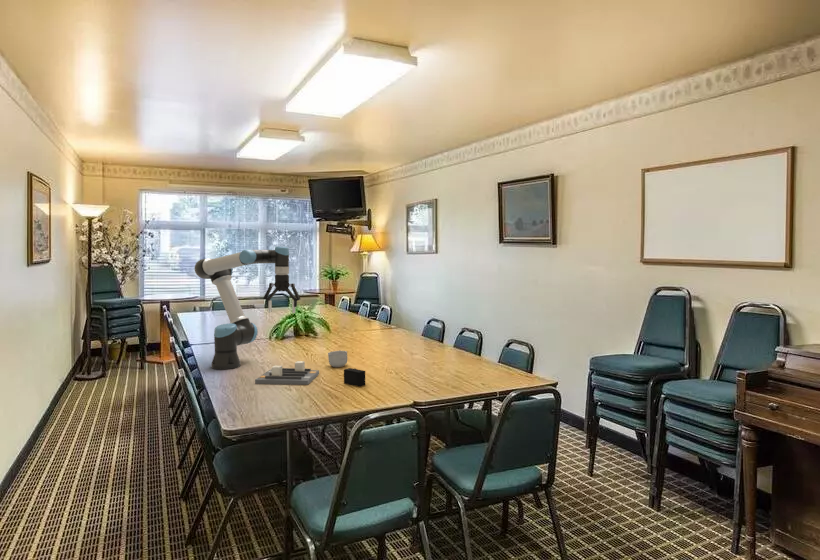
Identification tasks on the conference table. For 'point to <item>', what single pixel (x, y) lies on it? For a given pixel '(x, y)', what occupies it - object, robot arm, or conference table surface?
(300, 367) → the slider far
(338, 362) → the teacup
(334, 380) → the conference table surface
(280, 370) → the slider near
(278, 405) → the conference table surface
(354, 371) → the digital camera
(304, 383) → the switch base
